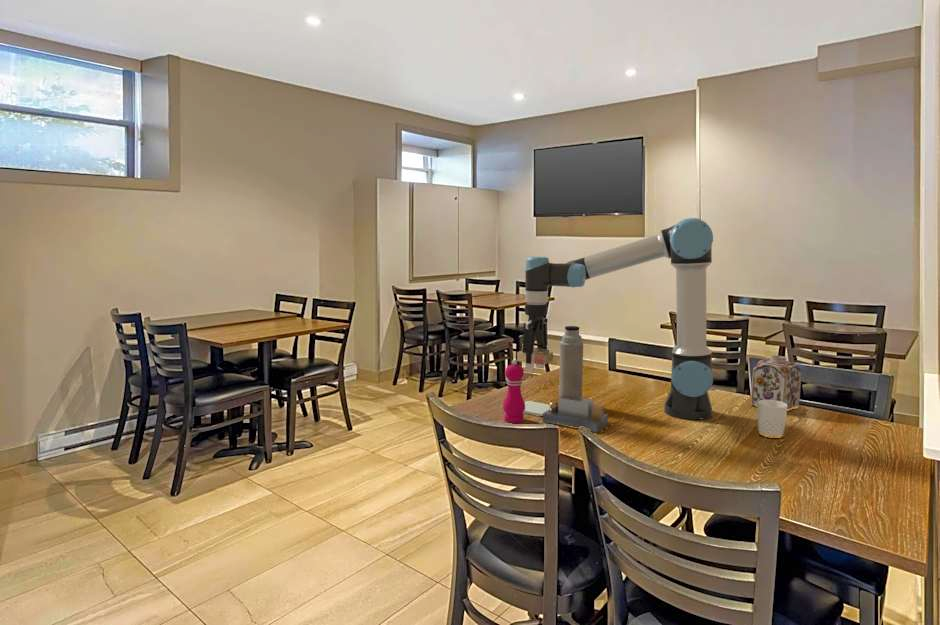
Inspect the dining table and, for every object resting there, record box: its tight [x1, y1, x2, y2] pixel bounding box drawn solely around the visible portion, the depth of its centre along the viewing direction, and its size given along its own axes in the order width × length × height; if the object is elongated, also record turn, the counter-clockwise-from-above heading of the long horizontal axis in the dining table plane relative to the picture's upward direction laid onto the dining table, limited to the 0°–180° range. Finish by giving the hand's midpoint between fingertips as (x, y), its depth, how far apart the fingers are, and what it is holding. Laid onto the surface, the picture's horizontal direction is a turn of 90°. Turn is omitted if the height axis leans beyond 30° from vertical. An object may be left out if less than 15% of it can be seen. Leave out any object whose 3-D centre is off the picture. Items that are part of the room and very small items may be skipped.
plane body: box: [542, 395, 609, 434], centre depth 189 cm, size 18×10×8 cm, turn 58°
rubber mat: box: [522, 400, 550, 417], centre depth 202 cm, size 11×11×1 cm
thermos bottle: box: [558, 325, 584, 399], centre depth 206 cm, size 8×8×28 cm
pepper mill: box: [502, 359, 525, 424], centre depth 191 cm, size 7×7×20 cm
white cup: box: [757, 400, 788, 436], centre depth 177 cm, size 8×8×10 cm
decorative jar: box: [750, 355, 802, 409], centre depth 205 cm, size 12×12×18 cm
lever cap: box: [516, 347, 554, 366], centre depth 200 cm, size 10×7×4 cm
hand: (534, 370), depth 201 cm, fingers closed on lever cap, 7 cm apart
